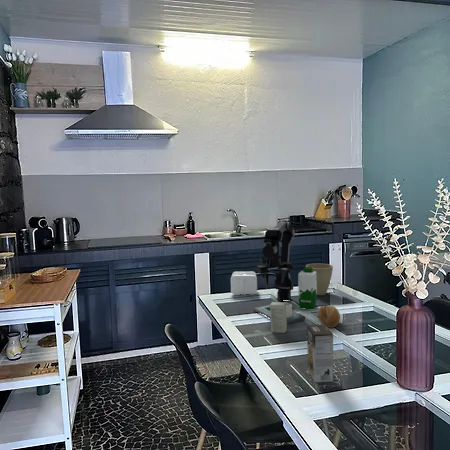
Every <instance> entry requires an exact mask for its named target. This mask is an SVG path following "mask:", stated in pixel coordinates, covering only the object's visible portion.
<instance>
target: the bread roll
mask: <svg viewBox="0 0 450 450" xmlns="http://www.w3.org/2000/svg"><path fill="white" fill-rule="evenodd" d="M317 316H318V319H319V321H320V323H321V324H325V325H326V326H327V327H328V328H329V329H330V328H332V329H333V328H335V327H336V326H338V324H339V323H340V320H341V313H340V312H339V310H338V309H337V307H335V306H333V305H322V306H320V307H319V309H318V311H317Z"/></svg>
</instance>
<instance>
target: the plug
mask: <svg viewBox="0 0 450 450" xmlns="http://www.w3.org/2000/svg"><path fill="white" fill-rule="evenodd" d="M284 303H286V318H287V317H292V311H293V304H292V303H289V301H286V302H284Z"/></svg>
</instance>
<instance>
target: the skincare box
mask: <svg viewBox="0 0 450 450" xmlns="http://www.w3.org/2000/svg"><path fill="white" fill-rule="evenodd" d="M269 305H270V310H269V311H270V314H271V320H270V329H271V331H270V332H272V333H287V330H288V323H287V319H286V303H284V302H281V301H271V303H270V304H269Z"/></svg>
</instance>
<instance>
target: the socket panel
mask: <svg viewBox="0 0 450 450" xmlns="http://www.w3.org/2000/svg"><path fill="white" fill-rule="evenodd" d="M253 311H254V312H255V313H257V312H258V313H257V314H259V313H261V314H264V315H266V316H267V317H269V318H270V319H271V314H270V304H267V305H263V306H257V307H253ZM261 314H260V315H261ZM270 319H269V320H270ZM286 319H287V324H292V323H296V322H297V323H298V322H302V321H306V316H305V315H302V314H301V313H298V312H296V311H294V310H292V317H287V318H286Z"/></svg>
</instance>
